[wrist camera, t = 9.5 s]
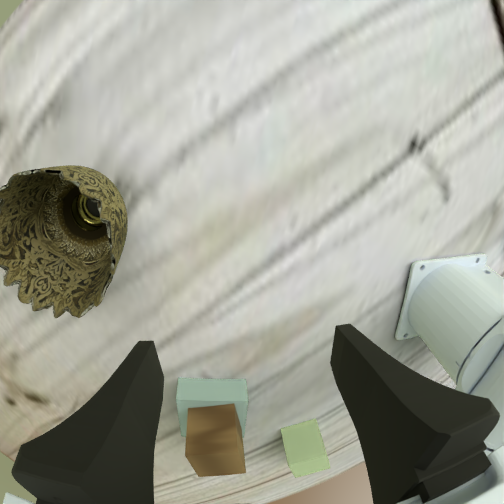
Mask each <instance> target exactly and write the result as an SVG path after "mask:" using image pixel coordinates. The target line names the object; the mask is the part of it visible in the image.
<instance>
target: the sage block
mask: <svg viewBox="0 0 504 504" xmlns="http://www.w3.org/2000/svg"><path fill="white" fill-rule="evenodd" d="M281 433H282V438H283V443H284V448H285V452H286V457H287V462H288V466H289V468H290V469H291V471H292V473H293V475H294V476H295V478H297V477H301V476H304V475H308V474H312V473H315V472H319V471H322V470H325V469H329V468H330V464H329V460H328V457H327V453H326V450H325V447H324V443H323V440H322V437H321V434H320V430H319V427H318V424H317V421H316V419H312V420H309V421H306V422H302V423H299V424H295V425H292V426H288V427H284V428H281Z"/></svg>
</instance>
